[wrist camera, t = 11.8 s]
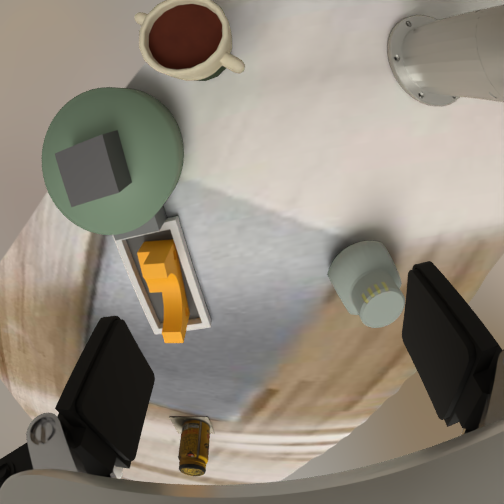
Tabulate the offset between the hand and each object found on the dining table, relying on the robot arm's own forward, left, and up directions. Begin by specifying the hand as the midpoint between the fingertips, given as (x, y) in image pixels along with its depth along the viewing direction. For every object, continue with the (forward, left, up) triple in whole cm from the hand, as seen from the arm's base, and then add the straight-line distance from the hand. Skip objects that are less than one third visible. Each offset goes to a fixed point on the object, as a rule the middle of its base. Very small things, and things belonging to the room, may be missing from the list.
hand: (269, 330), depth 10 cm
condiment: (+23, +51, -30) cm, 63 cm away
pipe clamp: (+14, +14, -30) cm, 36 cm away
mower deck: (+16, +5, -30) cm, 34 cm away
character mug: (+3, -13, -30) cm, 33 cm away
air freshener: (-12, +18, -30) cm, 37 cm away
